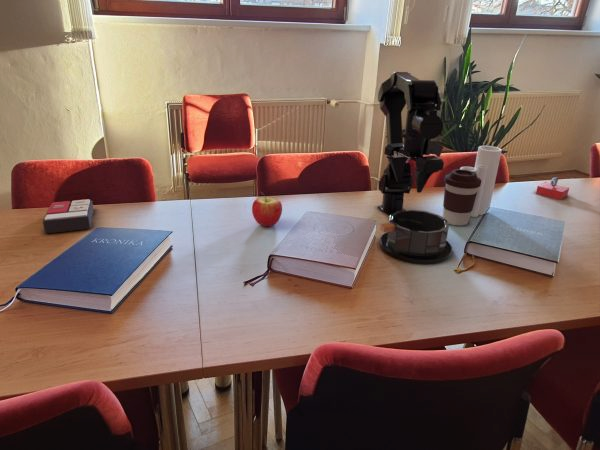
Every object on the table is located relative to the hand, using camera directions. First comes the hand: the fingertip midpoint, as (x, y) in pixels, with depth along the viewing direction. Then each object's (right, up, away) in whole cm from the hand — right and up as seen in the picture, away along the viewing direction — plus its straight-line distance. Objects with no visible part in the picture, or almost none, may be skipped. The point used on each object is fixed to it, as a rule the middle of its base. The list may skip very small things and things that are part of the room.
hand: (408, 187), depth 122 cm
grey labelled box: (-94, -9, +3) cm, 95 cm away
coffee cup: (+16, -9, +10) cm, 21 cm away
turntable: (0, -16, -7) cm, 18 cm away
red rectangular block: (+58, 0, +33) cm, 67 cm away
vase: (+24, -7, +17) cm, 30 cm away
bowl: (-2, -15, -8) cm, 17 cm away
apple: (-39, -10, +4) cm, 41 cm away
